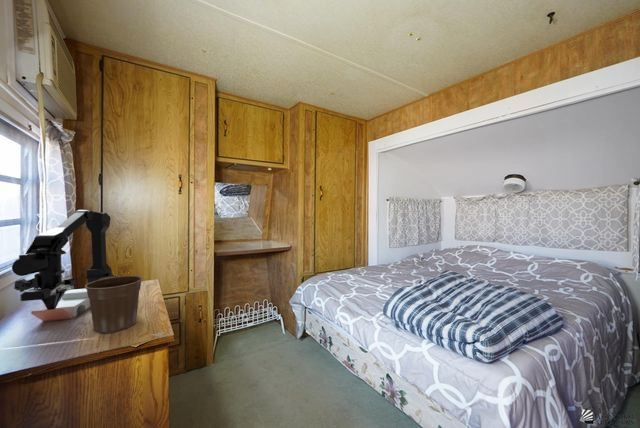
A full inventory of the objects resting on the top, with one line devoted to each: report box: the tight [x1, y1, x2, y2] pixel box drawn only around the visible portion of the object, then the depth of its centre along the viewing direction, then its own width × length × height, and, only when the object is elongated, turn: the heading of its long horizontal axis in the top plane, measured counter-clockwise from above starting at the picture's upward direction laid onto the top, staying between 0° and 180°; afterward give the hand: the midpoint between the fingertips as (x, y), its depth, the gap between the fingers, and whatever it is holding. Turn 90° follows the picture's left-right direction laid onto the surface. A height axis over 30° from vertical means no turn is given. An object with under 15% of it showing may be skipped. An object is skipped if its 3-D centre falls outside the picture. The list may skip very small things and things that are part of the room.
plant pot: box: [84, 275, 144, 334], centre depth 94 cm, size 16×16×16 cm
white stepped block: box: [44, 288, 91, 318], centre depth 106 cm, size 15×11×7 cm
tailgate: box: [30, 309, 75, 322], centre depth 95 cm, size 1×9×8 cm
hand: (51, 311), depth 95 cm, fingers closed
